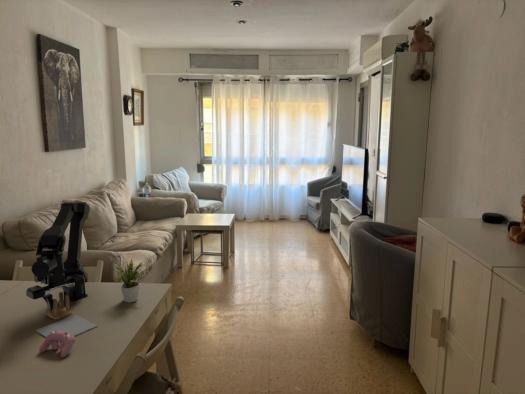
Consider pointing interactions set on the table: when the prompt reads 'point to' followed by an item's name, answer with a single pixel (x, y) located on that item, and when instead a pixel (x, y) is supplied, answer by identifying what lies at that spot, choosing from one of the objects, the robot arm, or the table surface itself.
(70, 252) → the robot arm
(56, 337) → the video game controller
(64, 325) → the mat
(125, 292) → the house plant
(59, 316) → the stool
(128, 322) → the table surface
